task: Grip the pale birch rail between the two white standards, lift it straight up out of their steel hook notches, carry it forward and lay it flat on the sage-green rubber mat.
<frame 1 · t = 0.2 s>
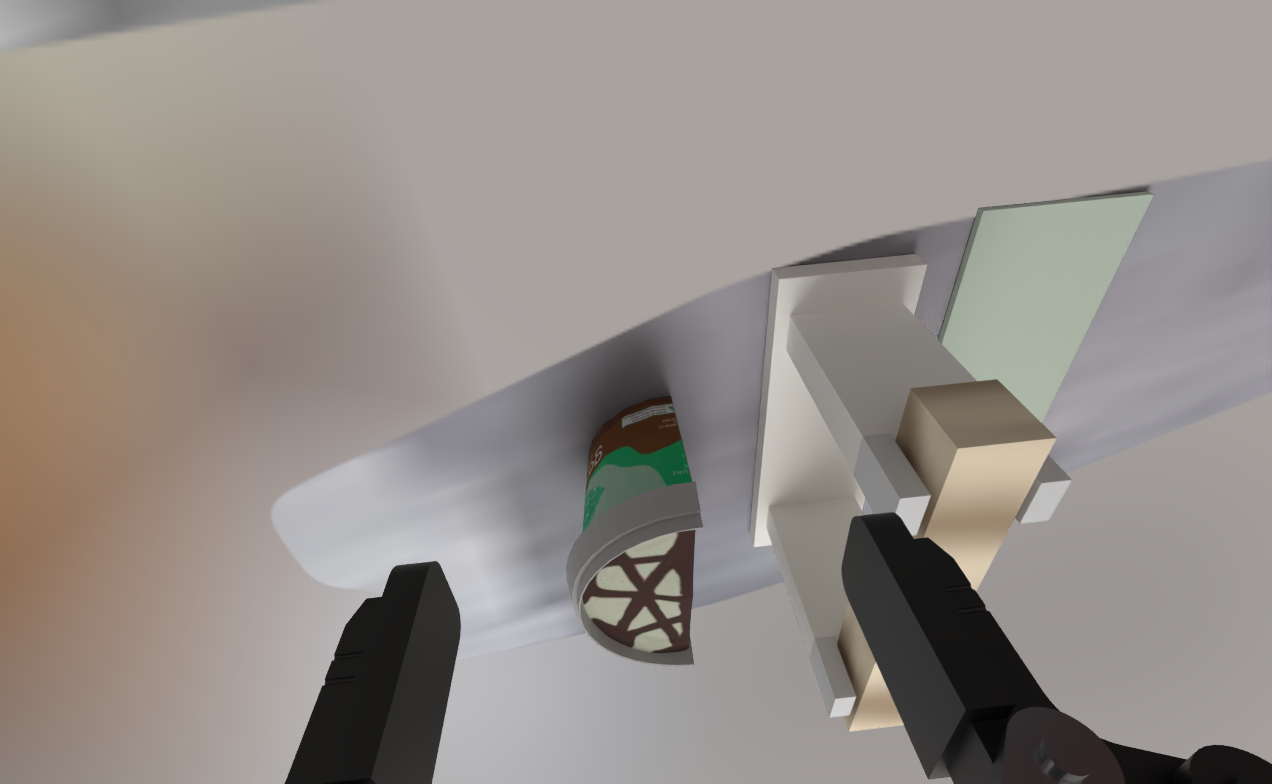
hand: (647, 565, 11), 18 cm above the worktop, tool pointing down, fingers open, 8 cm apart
mat: (983, 401, 33), on the worktop
rail: (892, 561, 25), point 10 cm above the worktop, touching rack
food container: (620, 458, 34), on the worktop
rack: (817, 418, 33), on the worktop
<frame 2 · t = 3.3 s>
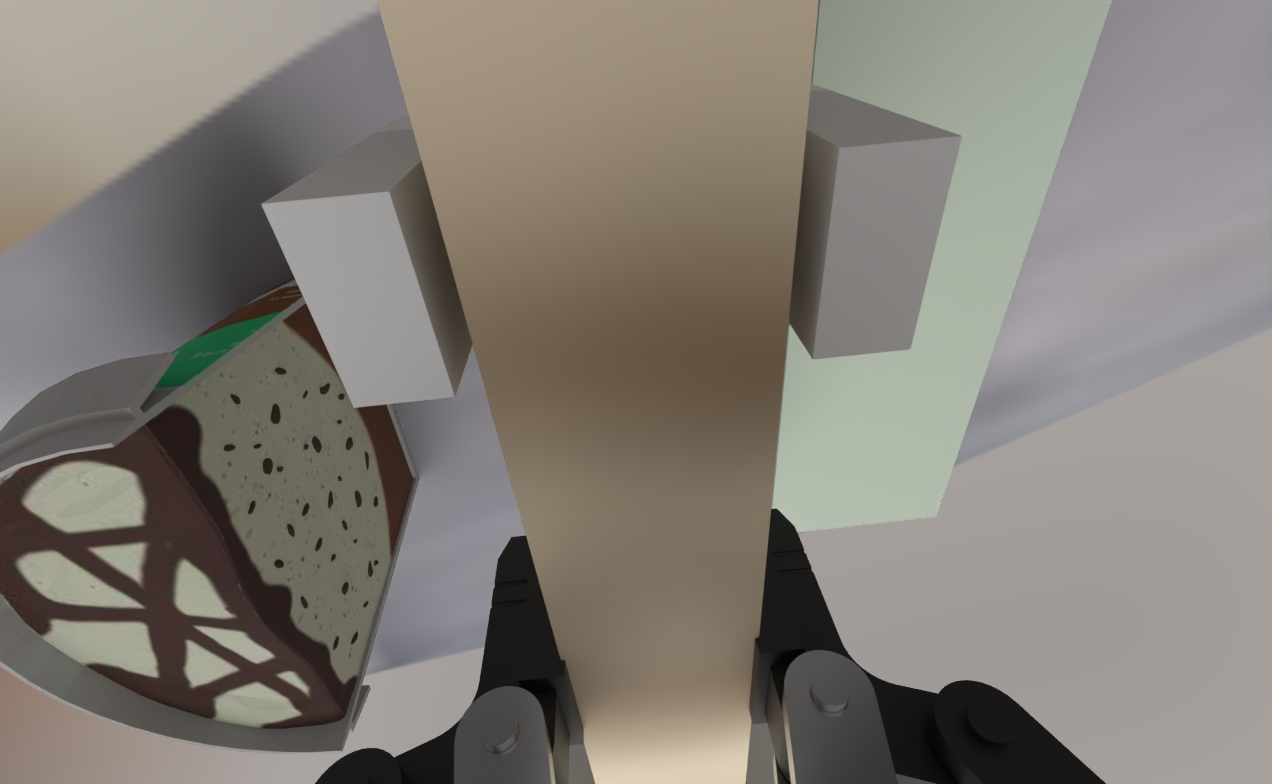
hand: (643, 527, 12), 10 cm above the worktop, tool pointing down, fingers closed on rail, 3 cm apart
mat: (899, 288, 20), on the worktop
rail: (646, 540, 11), point 10 cm above the worktop, touching gripper, rack
food container: (303, 388, 21), on the worktop
rack: (619, 317, 20), on the worktop
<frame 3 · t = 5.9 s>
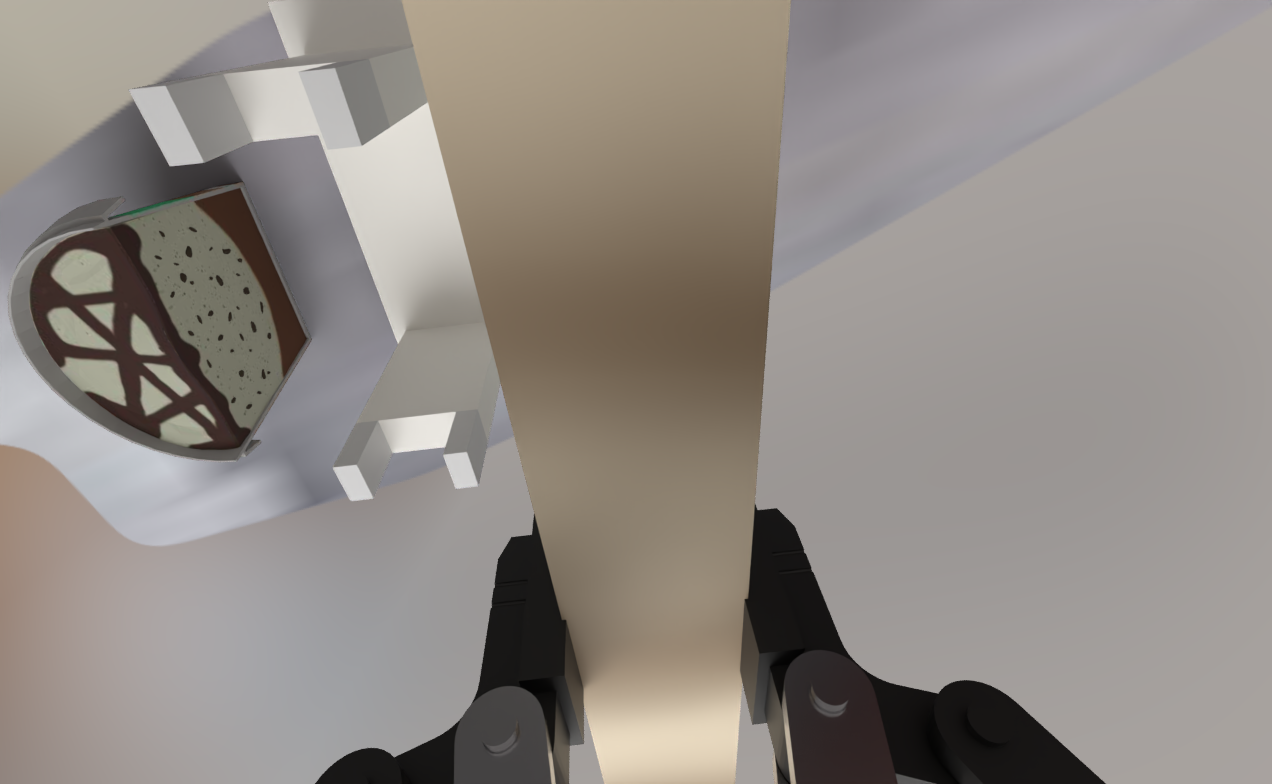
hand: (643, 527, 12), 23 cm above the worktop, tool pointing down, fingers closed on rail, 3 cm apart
rail: (643, 515, 12), point 23 cm above the worktop, touching gripper
food container: (226, 269, 31), on the worktop
rack: (427, 218, 30), on the worktop
when the fingers open (1 cm above the worktop, at t = 8.8 s): rail stays where it is, resting on mat.
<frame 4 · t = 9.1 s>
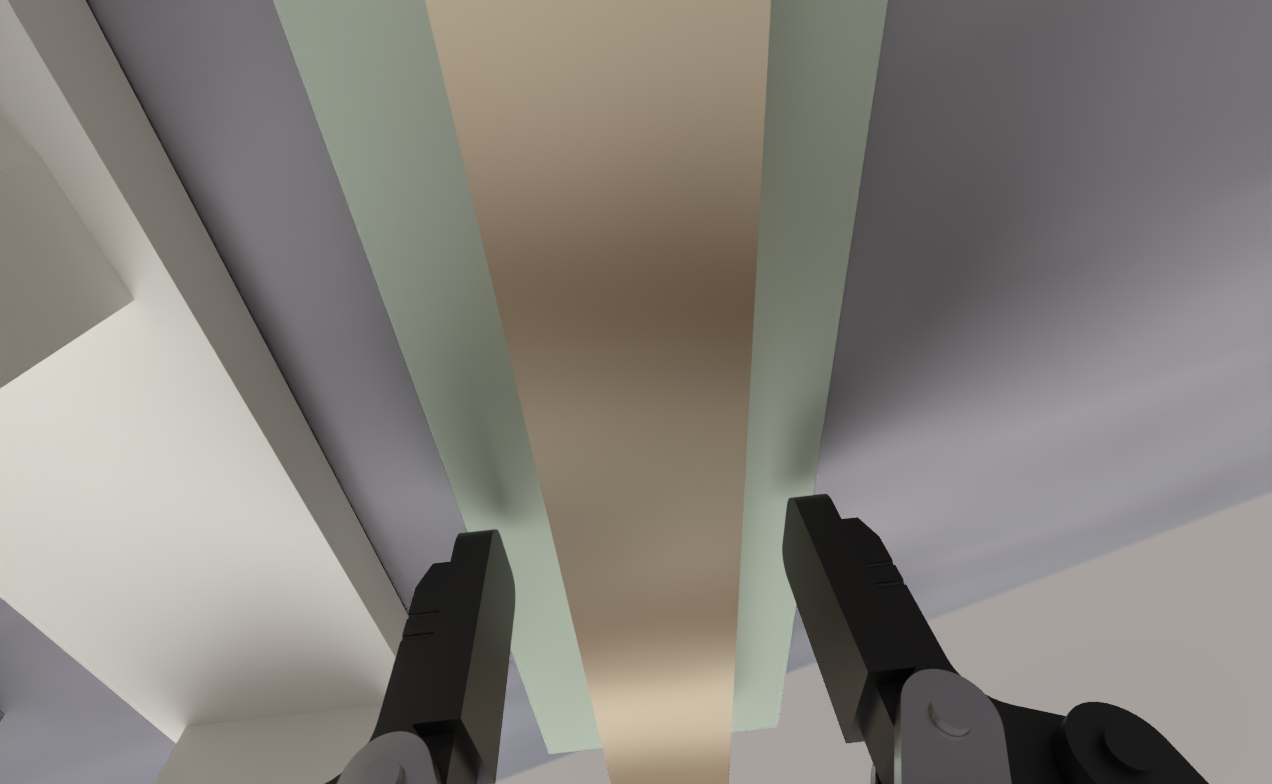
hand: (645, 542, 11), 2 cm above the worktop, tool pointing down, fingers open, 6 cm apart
mat: (638, 483, 13), on the worktop
rail: (641, 495, 13), resting on mat
rack: (199, 530, 13), on the worktop
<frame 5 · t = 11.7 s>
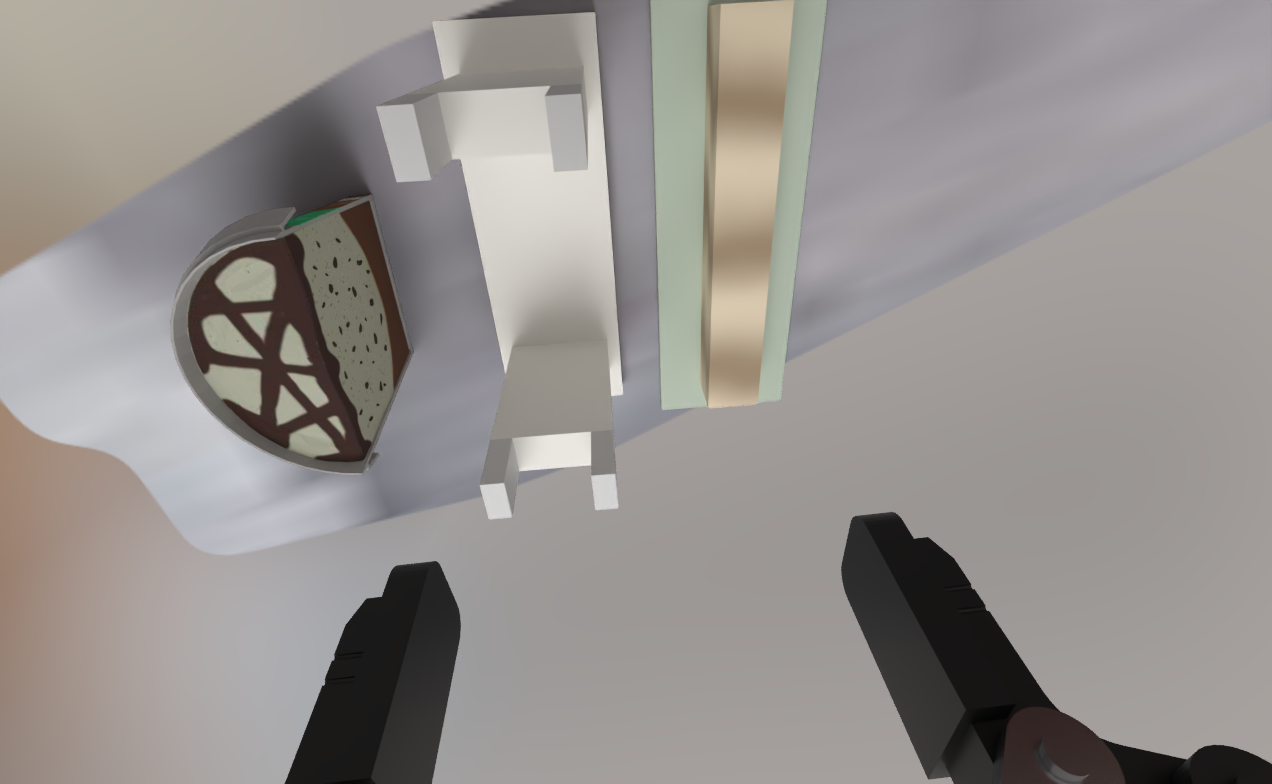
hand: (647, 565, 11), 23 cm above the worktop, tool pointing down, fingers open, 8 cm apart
mat: (727, 223, 31), on the worktop
rail: (730, 225, 31), resting on mat
food container: (339, 280, 31), on the worktop
rack: (547, 236, 31), on the worktop
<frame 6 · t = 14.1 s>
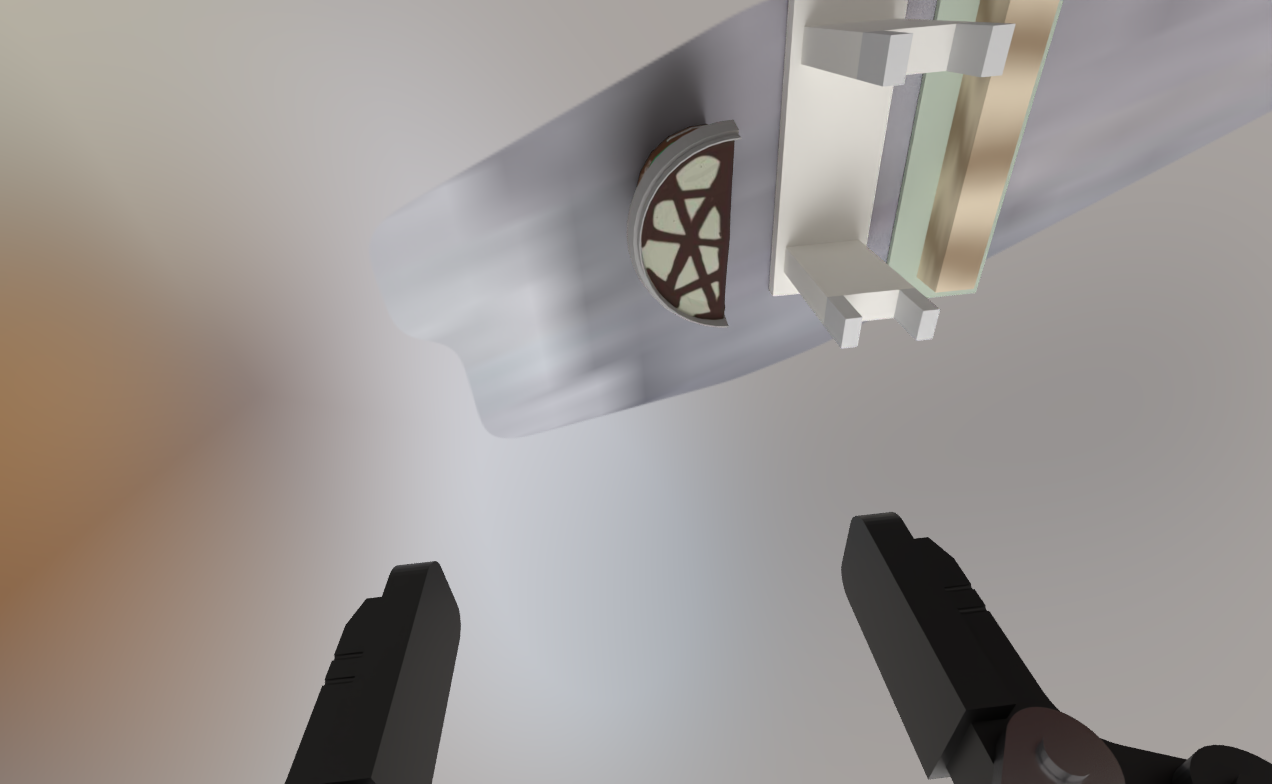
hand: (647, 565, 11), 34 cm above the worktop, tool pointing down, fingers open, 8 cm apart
mat: (963, 142, 40), on the worktop
rail: (967, 143, 40), resting on mat
food container: (661, 195, 41), on the worktop
rack: (826, 156, 40), on the worktop
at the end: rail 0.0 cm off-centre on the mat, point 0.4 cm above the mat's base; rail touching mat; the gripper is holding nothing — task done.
